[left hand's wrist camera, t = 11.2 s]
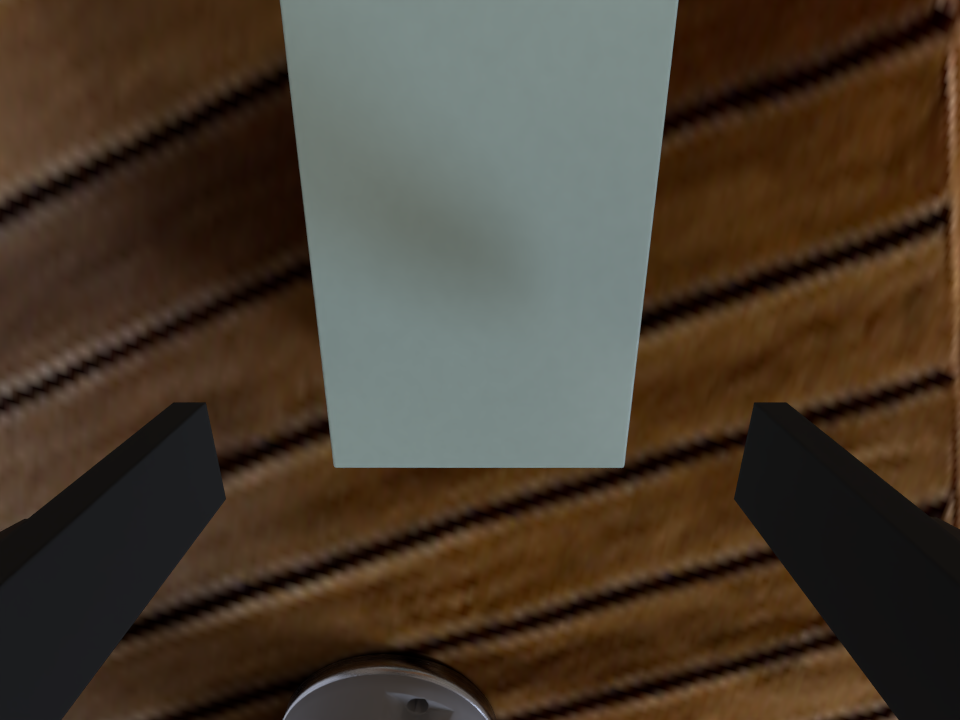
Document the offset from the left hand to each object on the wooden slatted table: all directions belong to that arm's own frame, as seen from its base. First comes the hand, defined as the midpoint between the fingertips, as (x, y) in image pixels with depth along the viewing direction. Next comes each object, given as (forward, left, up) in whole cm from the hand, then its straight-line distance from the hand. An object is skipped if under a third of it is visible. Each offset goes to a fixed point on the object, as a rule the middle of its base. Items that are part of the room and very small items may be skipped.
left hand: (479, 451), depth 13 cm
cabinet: (+2, +5, -15) cm, 16 cm away
